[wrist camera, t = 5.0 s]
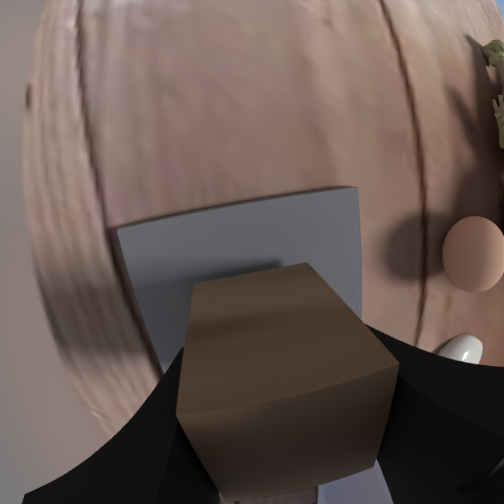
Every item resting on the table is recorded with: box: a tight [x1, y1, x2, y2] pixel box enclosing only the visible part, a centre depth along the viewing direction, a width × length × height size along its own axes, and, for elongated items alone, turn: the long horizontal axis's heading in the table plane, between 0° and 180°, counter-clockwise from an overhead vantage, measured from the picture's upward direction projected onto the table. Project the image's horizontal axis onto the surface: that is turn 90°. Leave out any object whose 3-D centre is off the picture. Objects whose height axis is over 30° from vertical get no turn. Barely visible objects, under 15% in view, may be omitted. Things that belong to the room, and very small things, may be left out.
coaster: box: [117, 186, 362, 374], centre depth 12 cm, size 9×9×1 cm
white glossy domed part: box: [437, 333, 482, 364], centre depth 15 cm, size 5×5×1 cm
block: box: [176, 262, 399, 502], centre depth 8 cm, size 4×4×6 cm
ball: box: [442, 216, 504, 293], centre depth 11 cm, size 4×4×4 cm
